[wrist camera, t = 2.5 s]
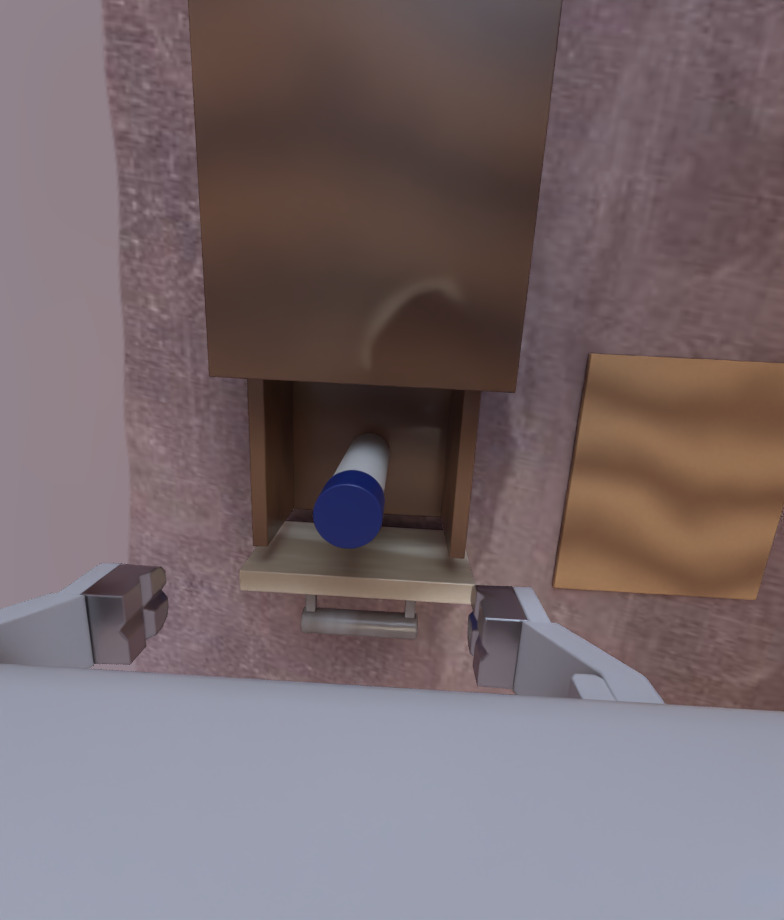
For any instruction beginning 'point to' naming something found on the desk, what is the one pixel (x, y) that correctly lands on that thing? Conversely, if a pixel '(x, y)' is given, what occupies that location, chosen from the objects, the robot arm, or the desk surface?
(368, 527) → the marker
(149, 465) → the desk surface
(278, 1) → the cabinet
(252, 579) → the drawer
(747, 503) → the cork pad
